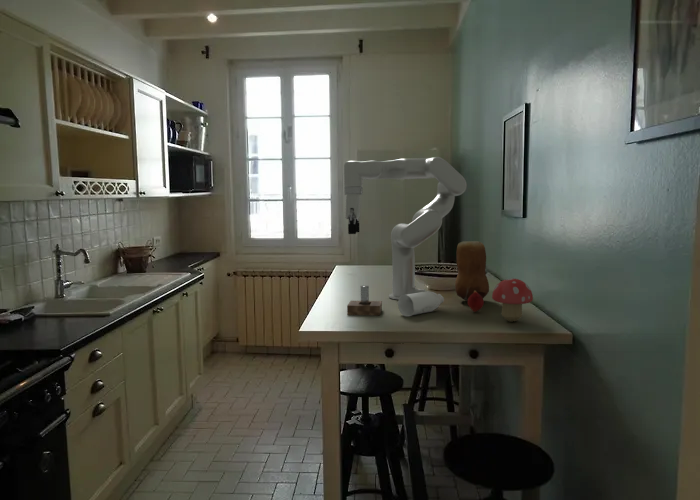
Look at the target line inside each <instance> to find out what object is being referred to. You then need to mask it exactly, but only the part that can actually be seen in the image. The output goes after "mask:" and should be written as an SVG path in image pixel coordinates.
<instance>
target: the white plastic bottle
mask: <svg viewBox="0 0 700 500" xmlns="http://www.w3.org/2000/svg"><path fill="white" fill-rule="evenodd" d="M444 301H445V298H444V296H443V295H442V294H441V293H437V292H434V291H430V290H425V291H424V292H419V293H413V294H407V295H401V296H400V297H399V300H397V308H398V311H399V313H400V314H401V315H402V316H403V317H407V318H408V317H412V316H416V315H420V314H425V313H426V314H427V313H432V312H434V311H435V310H436V309H438V308H439V307H440V305H441V304H443V303H444Z"/></svg>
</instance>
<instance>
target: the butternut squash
mask: <svg viewBox="0 0 700 500" xmlns="http://www.w3.org/2000/svg"><path fill="white" fill-rule="evenodd" d="M486 265H487V252H486V247H485V245H484V243H483V242H481V241H478V240H473V241H472V240H468V241H466V240H463V241H461V242H459V243H458V244H457V247H456V267H457V276H456V278H455V282H454V289H455V292H456V296H458V297H460V298H461V299H462V300H464V301H466V302H468V298H469V297H470V295H472V294H473V293H474V291H476V292H477V293H478V294H480V295H481V296H482V298H483V299H484V298H485V297H486V296H487V295H488V294H489V291H490V284H489V279H488V277H487V274H486V269H487V266H486Z"/></svg>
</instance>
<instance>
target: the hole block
mask: <svg viewBox="0 0 700 500" xmlns="http://www.w3.org/2000/svg"><path fill="white" fill-rule="evenodd" d="M346 306H347V310H346V314H347V316H348V315H349V316H376V317H377V316H381V313H382V312H383V311H382V310H383V301H382V300H369V305H361V300H350V301H349V303H348V304H347V305H346Z"/></svg>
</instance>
